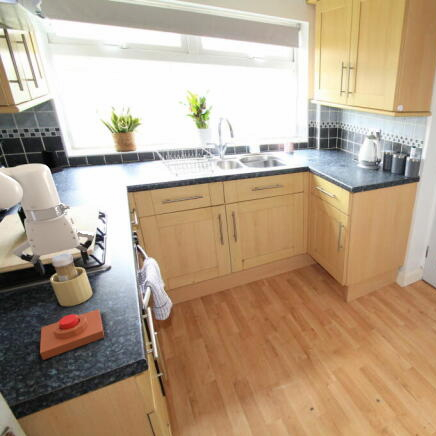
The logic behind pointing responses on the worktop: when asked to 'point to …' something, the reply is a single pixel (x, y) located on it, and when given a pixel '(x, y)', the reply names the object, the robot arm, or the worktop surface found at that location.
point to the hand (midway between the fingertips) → (64, 267)
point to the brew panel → (71, 335)
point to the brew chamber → (72, 289)
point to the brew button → (68, 322)
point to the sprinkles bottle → (64, 267)
